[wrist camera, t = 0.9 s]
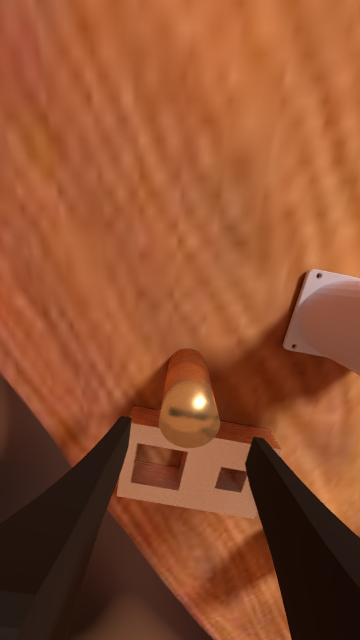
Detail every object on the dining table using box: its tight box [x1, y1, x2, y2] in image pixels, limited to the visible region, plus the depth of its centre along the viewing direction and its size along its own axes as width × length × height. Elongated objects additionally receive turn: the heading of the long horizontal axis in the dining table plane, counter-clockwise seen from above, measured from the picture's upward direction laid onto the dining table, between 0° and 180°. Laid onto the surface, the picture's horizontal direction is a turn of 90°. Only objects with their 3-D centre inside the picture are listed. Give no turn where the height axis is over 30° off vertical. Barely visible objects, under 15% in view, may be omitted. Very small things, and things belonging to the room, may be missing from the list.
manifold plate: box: [117, 406, 281, 519], centre depth 21 cm, size 16×10×2 cm, turn 79°
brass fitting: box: [159, 349, 220, 448], centre depth 16 cm, size 4×4×8 cm
